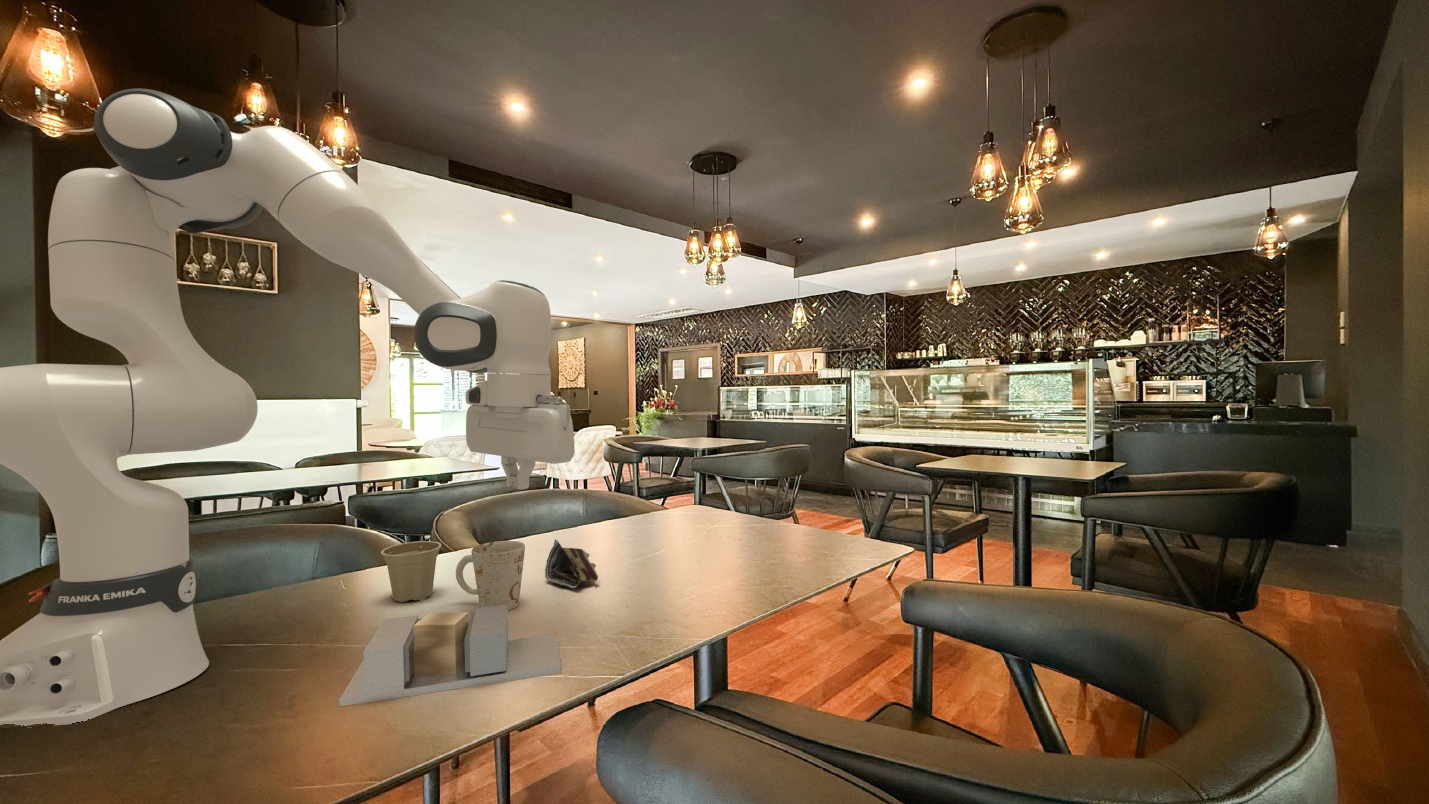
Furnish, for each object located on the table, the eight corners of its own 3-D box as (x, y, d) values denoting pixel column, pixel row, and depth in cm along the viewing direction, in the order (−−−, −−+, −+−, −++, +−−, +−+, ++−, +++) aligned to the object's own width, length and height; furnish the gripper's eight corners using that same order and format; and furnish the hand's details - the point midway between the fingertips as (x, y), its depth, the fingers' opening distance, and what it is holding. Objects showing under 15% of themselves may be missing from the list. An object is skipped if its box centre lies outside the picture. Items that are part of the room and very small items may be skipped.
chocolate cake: (613, 581, 106) (595, 530, 114) (580, 580, 101) (564, 526, 109) (586, 612, 109) (571, 559, 117) (553, 612, 104) (540, 557, 112)
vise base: (339, 710, 64) (338, 655, 64) (363, 670, 74) (361, 622, 74) (560, 674, 72) (559, 624, 72) (556, 642, 81) (555, 598, 81)
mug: (508, 617, 91) (507, 554, 91) (438, 612, 93) (437, 551, 93) (535, 599, 99) (534, 541, 99) (470, 595, 101) (469, 539, 101)
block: (414, 674, 70) (413, 625, 70) (430, 659, 74) (429, 613, 74) (455, 673, 70) (454, 624, 70) (469, 658, 74) (468, 612, 74)
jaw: (464, 677, 68) (464, 637, 68) (472, 643, 78) (471, 608, 78) (505, 670, 70) (505, 632, 70) (507, 638, 79) (507, 604, 79)
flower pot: (425, 605, 97) (424, 554, 97) (370, 606, 97) (369, 555, 97) (451, 587, 106) (450, 540, 106) (401, 587, 106) (400, 541, 106)
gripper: (585, 396, 81) (584, 493, 81) (494, 391, 92) (493, 477, 93) (551, 397, 76) (549, 501, 76) (458, 391, 87) (457, 482, 87)
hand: (517, 487), depth 84 cm, fingers closed
